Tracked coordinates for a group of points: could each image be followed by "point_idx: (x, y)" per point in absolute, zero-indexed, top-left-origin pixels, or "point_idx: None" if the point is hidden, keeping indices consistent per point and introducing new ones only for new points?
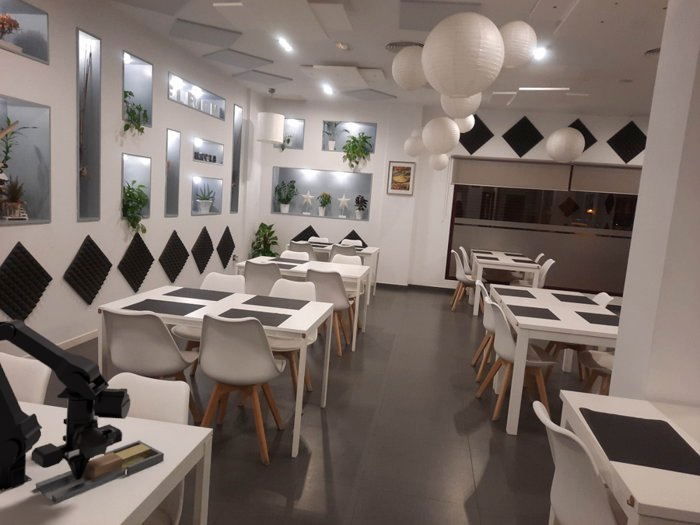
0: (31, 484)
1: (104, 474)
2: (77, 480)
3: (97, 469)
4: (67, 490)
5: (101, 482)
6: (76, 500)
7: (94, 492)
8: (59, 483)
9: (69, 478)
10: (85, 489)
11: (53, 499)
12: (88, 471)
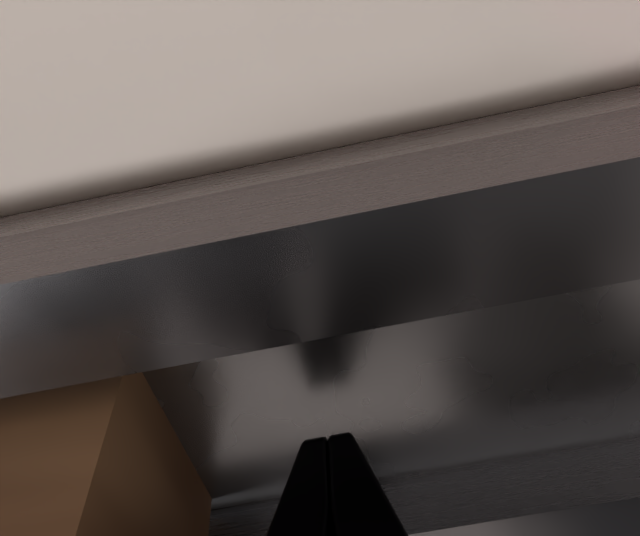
0: None
1: None
2: None
3: (35, 518)
4: (622, 246)
5: (27, 249)
6: (503, 28)
7: (181, 108)
8: (492, 464)
9: None
10: (321, 185)
11: None
12: (176, 525)
